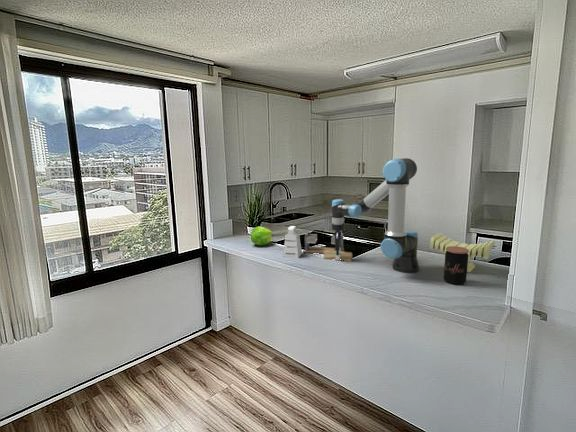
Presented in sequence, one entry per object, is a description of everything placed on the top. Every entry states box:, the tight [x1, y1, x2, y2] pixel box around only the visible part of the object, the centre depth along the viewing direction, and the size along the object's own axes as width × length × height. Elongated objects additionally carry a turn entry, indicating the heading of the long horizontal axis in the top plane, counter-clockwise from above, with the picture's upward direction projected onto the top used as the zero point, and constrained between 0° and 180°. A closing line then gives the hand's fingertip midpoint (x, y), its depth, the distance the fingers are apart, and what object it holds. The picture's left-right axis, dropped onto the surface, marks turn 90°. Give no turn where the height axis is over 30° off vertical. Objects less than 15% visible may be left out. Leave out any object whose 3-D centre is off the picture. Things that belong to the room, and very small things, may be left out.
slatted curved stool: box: [429, 231, 496, 273], centre depth 189 cm, size 30×16×18 cm, turn 47°
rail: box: [323, 250, 353, 262], centre depth 211 cm, size 4×18×5 cm, turn 69°
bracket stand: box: [303, 231, 345, 255], centre depth 227 cm, size 13×27×13 cm, turn 76°
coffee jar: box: [443, 246, 469, 286], centre depth 169 cm, size 11×11×18 cm
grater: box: [282, 225, 303, 259], centre depth 219 cm, size 10×10×20 cm
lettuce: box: [250, 225, 273, 246], centre depth 248 cm, size 15×20×14 cm
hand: (337, 258), depth 211 cm, fingers closed on rail, 4 cm apart
